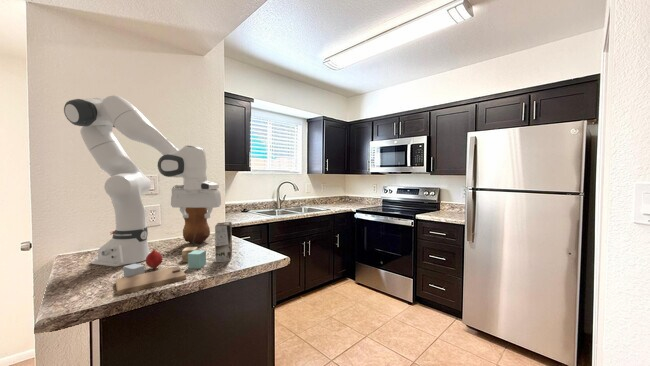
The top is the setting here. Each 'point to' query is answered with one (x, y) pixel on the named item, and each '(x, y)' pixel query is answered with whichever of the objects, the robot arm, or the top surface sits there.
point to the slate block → (133, 270)
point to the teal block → (196, 259)
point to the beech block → (186, 252)
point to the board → (149, 280)
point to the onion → (154, 259)
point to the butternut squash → (196, 226)
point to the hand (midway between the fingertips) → (196, 218)
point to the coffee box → (223, 242)
